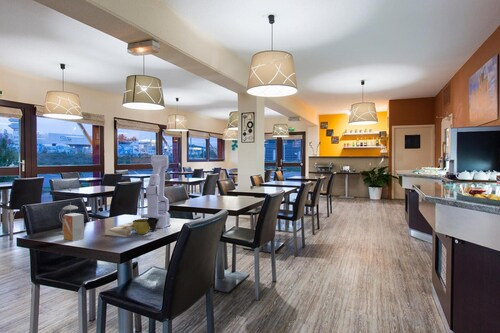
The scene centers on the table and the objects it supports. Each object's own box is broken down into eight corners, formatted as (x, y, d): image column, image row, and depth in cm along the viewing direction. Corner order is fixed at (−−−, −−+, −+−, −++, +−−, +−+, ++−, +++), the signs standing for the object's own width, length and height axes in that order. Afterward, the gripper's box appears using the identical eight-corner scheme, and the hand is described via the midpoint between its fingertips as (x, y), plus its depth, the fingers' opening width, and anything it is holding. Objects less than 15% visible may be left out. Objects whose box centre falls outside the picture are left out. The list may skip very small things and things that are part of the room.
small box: (63, 239, 163) (62, 214, 162) (75, 236, 168) (74, 212, 168) (72, 241, 159) (72, 215, 158) (84, 238, 164) (84, 214, 164)
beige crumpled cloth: (130, 227, 191) (130, 222, 191) (150, 229, 187) (150, 224, 187) (105, 234, 172) (105, 229, 172) (126, 236, 168) (126, 231, 168)
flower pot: (132, 235, 170) (131, 222, 170) (133, 231, 180) (133, 219, 180) (151, 234, 173) (151, 221, 173) (152, 230, 183) (151, 218, 182)
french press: (71, 234, 174) (70, 189, 174) (53, 233, 177) (53, 189, 176) (84, 230, 184) (83, 187, 184) (67, 229, 186) (66, 187, 186)
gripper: (137, 207, 172) (137, 232, 173) (159, 208, 168) (159, 233, 168) (145, 205, 179) (145, 229, 179) (167, 206, 174) (167, 231, 175)
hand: (153, 231), depth 174 cm, fingers closed
